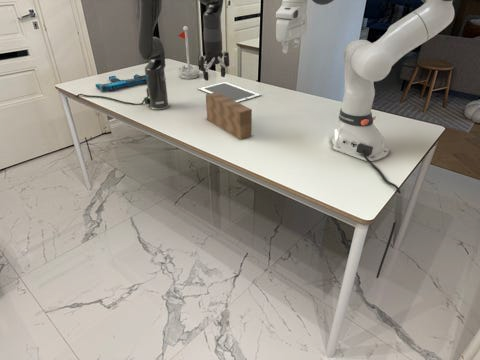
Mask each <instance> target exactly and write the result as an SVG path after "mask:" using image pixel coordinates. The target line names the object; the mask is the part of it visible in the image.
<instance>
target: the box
mask: <svg viewBox="0 0 480 360" xmlns="http://www.w3.org/2000/svg"><path fill="white" fill-rule="evenodd" d="M205 107H206V119H207V120H208V121H210V122H211V123H213V124H214V125H216V126H217V127H219V128H221V129H223V130H224V131H226V132H228V133H229V134H230V135H233V136H234V137H235V138H238V139H239V140H243V139H247V138H250V137H252V123H253V122H252V120H253V119H252V118H253V115H252V113H253V110H252V108H250V107H247V106H245V105H243V104H241V103H240V102H238V103H237V102H235V101H233V100H231V99H229V98H227V97H225V96H223V95H221V94H219V93H217V92H215V93H211V94H209V93H207V94H205Z"/></svg>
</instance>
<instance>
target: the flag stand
mask: <svg viewBox="0 0 480 360" xmlns="http://www.w3.org/2000/svg"><path fill="white" fill-rule="evenodd" d="M182 29H183V32H181V33H180V34H178V35H177V36H178V37H179V38H182V39H183V40H184V41H185V51H186V65H187V66H186V65H182V66H180V67H178V73H179V74H180V78H182V79H185V80H187V79H188V80H191V79H196V78H198V77H199V73H200V70H199V65H194V66H193V65H192V64H191V62H190V49H189V39H188V38H189V35H188V30H189V27H188V26H187V25H184V26H183V27H182Z"/></svg>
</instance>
